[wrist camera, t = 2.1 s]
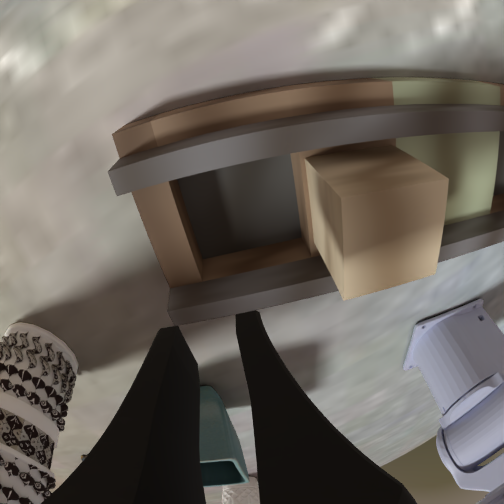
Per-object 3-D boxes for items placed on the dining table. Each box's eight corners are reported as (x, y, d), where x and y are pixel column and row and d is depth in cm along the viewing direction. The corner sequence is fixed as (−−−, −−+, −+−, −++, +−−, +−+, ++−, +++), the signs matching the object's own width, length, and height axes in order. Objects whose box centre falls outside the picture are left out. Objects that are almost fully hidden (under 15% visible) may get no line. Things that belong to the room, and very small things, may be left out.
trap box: (534, 89, 15) (572, 103, 11) (521, 210, 22) (551, 234, 18) (125, 124, 15) (98, 144, 11) (185, 292, 22) (182, 340, 18)
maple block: (392, 144, 15) (448, 178, 11) (391, 224, 18) (435, 273, 14) (304, 157, 15) (341, 197, 11) (314, 242, 18) (343, 300, 14)
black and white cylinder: (-13, 319, 21) (-82, 547, 1) (56, 317, 22) (-1, 610, 1) (29, 377, 26) (-7, 575, 6) (96, 381, 27) (77, 613, 6)
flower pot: (227, 369, 27) (235, 459, 20) (242, 412, 32) (250, 483, 25) (138, 378, 27) (129, 463, 20) (167, 419, 32) (166, 488, 24)
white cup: (255, 483, 52) (261, 524, 43) (217, 484, 50) (221, 527, 42) (263, 473, 48) (270, 519, 39) (220, 475, 46) (225, 522, 38)
